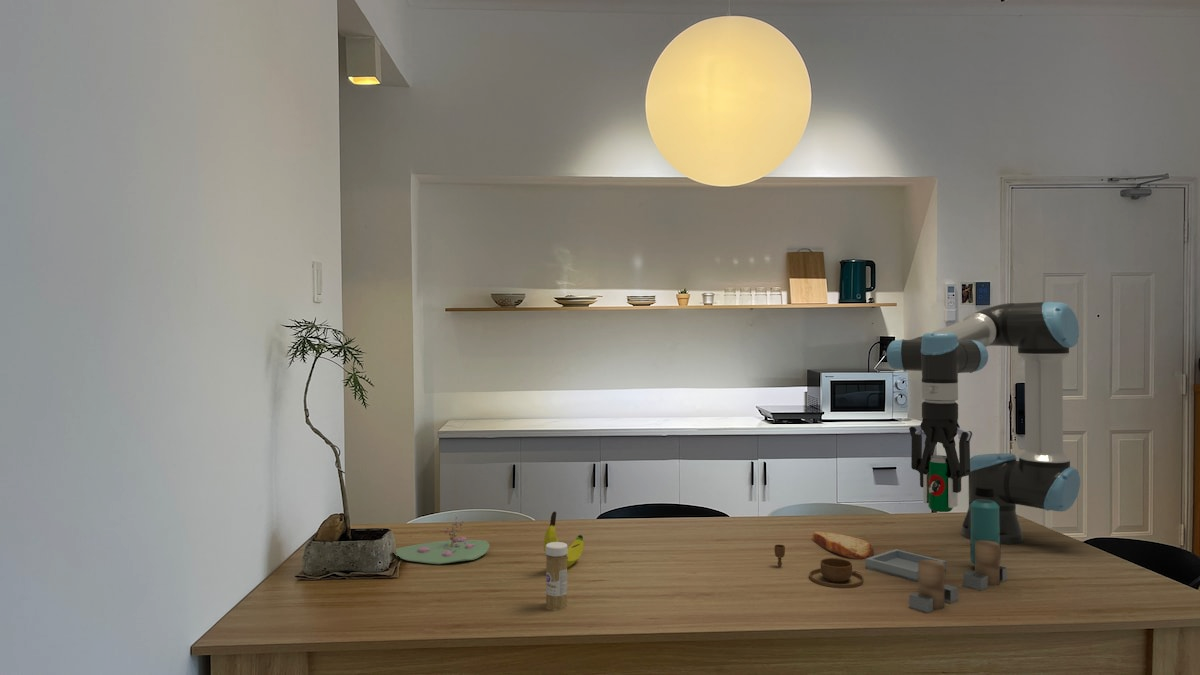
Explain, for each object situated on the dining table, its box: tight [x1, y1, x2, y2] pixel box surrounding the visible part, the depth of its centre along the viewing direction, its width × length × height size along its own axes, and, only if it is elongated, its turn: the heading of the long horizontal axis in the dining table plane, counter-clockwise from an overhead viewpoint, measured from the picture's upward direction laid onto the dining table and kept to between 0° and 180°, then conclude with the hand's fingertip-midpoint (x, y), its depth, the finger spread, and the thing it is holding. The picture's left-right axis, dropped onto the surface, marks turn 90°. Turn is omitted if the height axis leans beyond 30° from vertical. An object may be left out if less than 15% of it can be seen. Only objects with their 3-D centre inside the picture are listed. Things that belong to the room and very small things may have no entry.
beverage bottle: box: [969, 486, 1002, 566], centre depth 184 cm, size 6×7×20 cm
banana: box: [543, 511, 585, 569], centre depth 187 cm, size 5×17×15 cm, turn 155°
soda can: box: [927, 454, 954, 513], centre depth 174 cm, size 5×5×12 cm
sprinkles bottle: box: [544, 541, 569, 612], centre depth 160 cm, size 5×5×14 cm
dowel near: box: [917, 560, 945, 610], centre depth 160 cm, size 5×5×9 cm
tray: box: [865, 548, 947, 583], centre depth 184 cm, size 13×13×2 cm
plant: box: [395, 516, 490, 565], centre depth 202 cm, size 25×21×9 cm
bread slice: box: [811, 531, 875, 561], centre depth 204 cm, size 18×18×4 cm
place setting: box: [774, 544, 865, 589], centre depth 181 cm, size 18×20×6 cm
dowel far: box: [974, 540, 1001, 587], centre depth 175 cm, size 5×5×9 cm
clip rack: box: [908, 565, 1008, 614], centre depth 168 cm, size 34×4×3 cm, turn 128°
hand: (940, 504), depth 174 cm, fingers closed on soda can, 5 cm apart
